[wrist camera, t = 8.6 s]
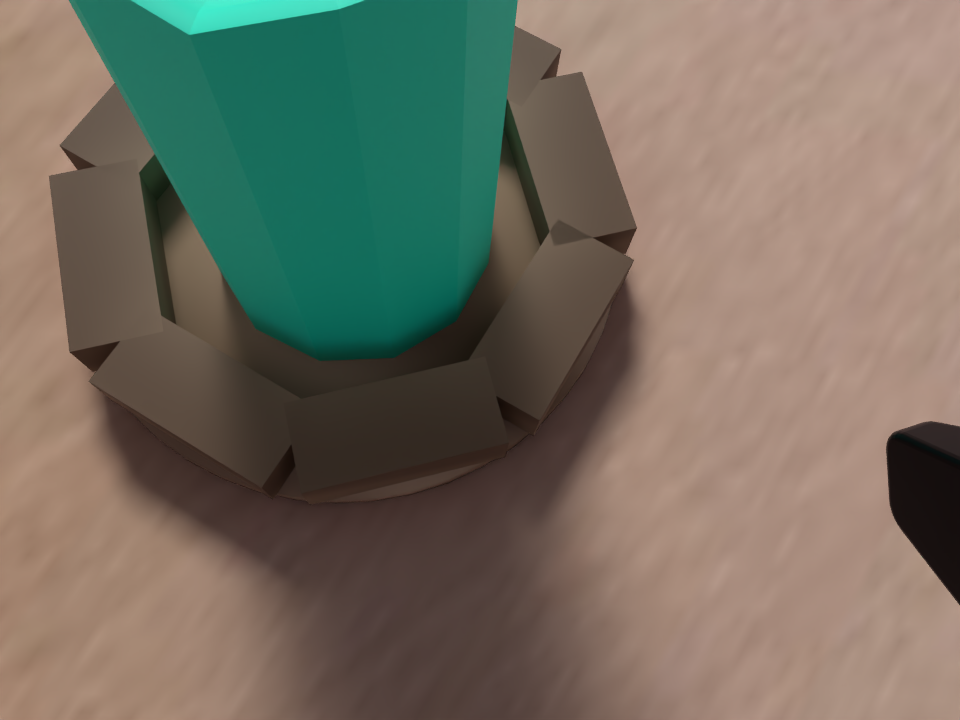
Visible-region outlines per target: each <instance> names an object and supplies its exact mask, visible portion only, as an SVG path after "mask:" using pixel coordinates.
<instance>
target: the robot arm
mask: <svg viewBox="0 0 960 720" xmlns="http://www.w3.org/2000/svg"><path fill="white" fill-rule="evenodd" d="M886 454H887V470H888V487H889V501H890V507H891V511H892V514H893V516H894V519H895V521H896V522H897V524H898V526H899V527H900V529H901V530H902V531H903V533H904V534H905V535H906V537H907V538H908V539H909V540H910V542H911V543H912V544H913V546H914V547H915V548H916V549H917V551H918V552H919V553H920V555H921V556H922V557H923V559H924V560H925V561H926V562H927V564H928V565H929V566H930V568H931V569H932V570H933V571H934V573H935V574H936V575H937V577H938V578H939V579H940V580H941V582H942V583H943V584H944V586H945V587H946V588H947V589H948V591H949V592H950V593H951V595H952V596H953V597H954V598H955V600H956V601H957V602H958V604H959V605H960V426H955V425H949V424H944V423H939V422H932V421H929V422H923V423H920V424H917V425H914V426H911V427H908V428H905V429H902V430H899V431H896V432H894V433H892V435H891V436H890V437H889V438H888V441H887V446H886Z"/></svg>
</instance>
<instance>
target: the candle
mask: <svg viewBox="0 0 960 720" xmlns="http://www.w3.org/2000/svg"><path fill="white" fill-rule="evenodd" d="M69 1H70V3H71V5H72V7H73V9H74V10H75V12H76V14H77V16H78V18H79V19H80V21H81V23H82V25H83V26H84V28H85V30H86V32H87V34H88V35H89V37H90V39H91V41H92V43H93V44H94V46H95V48H96V50H97V52H98V53H99V55H100V57H101V59H102V60H103V62H104V64H105V66H106V68H107V69H108V71H109V73H110V75H111V77H112V78H113V80H114V82H115V84H116V86H117V87H118V89H119V91H120V93H121V94H122V96H123V98H124V100H125V102H126V103H127V105H128V107H129V109H130V111H131V112H132V114H133V116H134V118H135V120H136V121H137V123H138V125H139V127H140V128H141V130H142V132H143V134H144V136H145V137H146V139H147V141H148V143H149V145H150V146H151V148H152V150H153V152H154V154H155V155H156V157H157V159H158V161H159V162H160V164H161V166H162V168H163V170H164V171H165V173H166V175H167V177H168V179H169V180H170V182H171V184H172V186H173V188H174V189H175V191H176V193H177V195H178V196H179V198H180V200H181V202H182V204H183V205H184V207H185V209H186V211H187V213H188V214H189V216H190V218H191V220H192V222H193V223H194V225H195V227H196V229H197V230H198V232H199V234H200V236H201V238H202V239H203V241H204V243H205V245H206V247H207V248H208V250H209V252H210V254H211V256H212V257H213V259H214V261H215V263H216V264H217V266H218V268H219V270H220V272H221V273H222V275H223V277H224V278H225V280H226V281H227V283H228V285H229V286H230V288H231V290H232V291H233V293H234V295H235V296H236V298H237V299H238V301H239V303H240V304H241V306H242V308H243V309H244V311H245V312H246V314H247V316H248V317H249V319H250V321H251V322H252V324H253V326H254V327H255V329H257V330H259V331H261V332H263V333H265V334H267V335H269V336H271V337H273V338H275V339H277V340H279V341H281V342H283V343H285V344H287V345H289V346H291V347H293V348H295V349H297V350H299V351H301V352H303V353H305V354H307V355H309V356H311V357H313V358H315V359H317V360H319V361H331V360H356V359H381V358H395V357H396V356H398V355H400V354H402V353H403V352H405V351H407V350H408V349H410V348H412V347H413V346H415V345H417V344H418V343H420V342H422V341H424V340H425V339H427V338H429V337H430V336H432V335H434V334H435V333H437V332H439V331H440V330H442V329H444V328H446V327H447V326H449V325H451V324H452V323H454V322H456V321H457V319H458V317H459V315H460V313H461V312H462V310H463V308H464V306H465V304H466V303H467V301H468V299H469V297H470V295H471V294H472V292H473V290H474V288H475V287H476V285H477V283H478V281H479V279H480V278H481V276H482V274H483V272H484V270H485V269H486V267H487V265H488V263H489V255H490V246H491V237H492V228H493V219H494V210H495V201H496V191H497V182H498V173H499V164H500V155H501V146H502V137H503V128H504V119H505V110H506V101H507V92H508V83H509V74H510V65H511V55H512V46H513V37H514V28H515V19H516V10H517V1H518V0H69Z"/></svg>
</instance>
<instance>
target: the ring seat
mask: <svg viewBox="0 0 960 720" xmlns="http://www.w3.org/2000/svg"><path fill="white" fill-rule="evenodd" d="M560 53H561V49H560V48H558V47H556V46H554V45H552V44H550V43H548V42H546V41H544V40H542V39H540V38H538V37H536V36H534V35H532V34H530V33H528V32H526V31H524V30H522V29H520V28H518V27H516V26H515V28H514V37H513V46H512V55H511V65H510V74H509V83H508V92H507V101H506V110H505V119H504V128H503V137H502V146H501V155H500V164H499V173H498V182H497V191H496V201H495V210H494V219H493V228H492V237H491V246H490V255H489V263H488V265H487V267H486V269H485V270H484V272H483V274H482V276H481V278H480V279H479V281H478V283H477V285H476V287H475V288H474V290H473V292H472V294H471V295H470V297H469V299H468V301H467V303H466V304H465V306H464V308H463V310H462V312H461V313H460V315H459V317H458V319H457V321H456V322H454V323H452V324H451V325H449V326H447V327H446V328H444V329H442V330H440V331H439V332H437V333H435V334H434V335H432V336H430V337H429V338H427V339H425V340H424V341H422V342H420V343H418V344H417V345H415V346H413V347H412V348H410V349H408V350H407V351H405V352H403V353H402V354H400V355H398V356H396V357H395V358H381V359H356V360H331V361H319V360H317V359H315V358H313V357H311V356H309V355H307V354H305V353H303V352H301V351H299V350H297V349H295V348H293V347H291V346H289V345H287V344H285V343H283V342H281V341H279V340H277V339H275V338H273V337H271V336H269V335H267V334H265V333H263V332H261V331H259V330H257V329H255V327H254V326H253V324H252V322H251V321H250V319H249V317H248V316H247V314H246V312H245V311H244V309H243V308H242V306H241V304H240V303H239V301H238V299H237V298H236V296H235V295H234V293H233V291H232V290H231V288H230V286H229V285H228V283H227V281H226V280H225V278H224V277H223V275H222V273H221V272H220V270H219V268H218V266H217V264H216V263H215V261H214V259H213V257H212V256H211V254H210V252H209V250H208V248H207V247H206V245H205V243H204V241H203V239H202V238H201V236H200V234H199V232H198V230H197V229H196V227H195V225H194V223H193V222H192V220H191V218H190V216H189V214H188V213H187V211H186V209H185V207H184V205H183V204H182V202H181V200H180V198H179V196H178V195H177V193H176V191H175V189H174V188H173V186H172V184H171V182H170V180H169V179H168V177H167V175H166V173H165V171H164V170H163V168H162V166H161V164H160V162H159V161H158V159H157V157H156V155H155V154H154V152H153V150H152V148H151V146H150V145H149V143H148V141H147V139H146V137H145V136H144V134H143V132H142V130H141V128H140V127H139V125H138V123H137V121H136V120H135V118H134V116H133V114H132V112H131V111H130V109H129V107H128V105H127V103H126V102H125V100H124V98H123V96H122V94H121V93H120V91H119V89H118V87H117V86H116V84H115V83H114V85H113V86H112V87H111V88H110V89H109V90H108V91H107V92H106V94H105V95H104V96H103V97H102V98H101V99H100V100H99V101H98V103H97V104H96V105H95V106H94V107H93V108H92V109H91V110H90V112H89V113H88V114H87V115H86V116H85V117H84V118H83V120H82V121H81V122H80V123H79V124H78V125H77V126H76V127H75V129H74V130H73V131H72V132H71V133H70V134H69V135H68V136H67V138H66V139H65V140H64V141H63V142H62V143H61V144H60V147H61V148H62V149H63V151H64V152H65V153H66V155H67V156H68V157H69V159H70V160H71V162H72V163H73V164H74V166H75V167H76V168H77V171H71V172H66V173H61V174H56V175H51V176H49V180H50V189H51V197H52V206H53V214H54V223H55V231H56V240H57V248H58V257H59V266H60V274H61V283H62V291H63V300H64V308H65V317H66V325H67V334H68V342H69V351H70V353H71V354H73V355H74V356H75V357H76V358H77V359H78V360H80V361H81V362H82V363H83V364H84V365H85V366H87V367H88V368H89V369H90V370H91V371H93V372H94V371H96V373H95V374H94V375H93V377H92V378H91V379H90V380H89V382H90V383H91V384H92V385H94V386H95V387H96V388H97V389H99V390H100V391H101V392H102V393H103V394H105V395H106V396H107V397H108V398H110V399H111V400H112V401H114V402H116V403H117V404H119V405H121V406H122V407H124V408H125V409H127V410H129V411H130V412H131V413H132V414H133V415H134V416H135V417H136V418H137V419H138V420H139V421H140V422H141V423H142V424H143V425H144V426H145V427H146V428H147V429H149V430H150V431H151V432H152V433H153V434H154V435H155V436H156V437H157V438H158V439H160V440H161V441H162V442H164V443H165V444H166V445H168V446H169V447H171V448H172V449H173V450H175V451H176V452H178V453H179V454H180V455H182V456H183V457H184V458H186V459H187V460H189V461H190V462H192V463H194V464H196V465H198V466H200V467H201V468H203V469H205V470H207V471H209V472H211V473H213V474H215V475H217V476H219V477H220V478H222V479H225V480H228V481H230V482H233V483H236V484H239V485H241V486H244V487H247V488H250V489H253V490H255V491H258V492H262V493H263V494H265V495H267V496H268V497H270V498H271V499H274V498H275V496H281V497H286V498H290V499H295V500H305V501H307V502H308V503H309V504H310V505H312V504H316V503H321V502H330V503H343V502H363V501H376V500H382V499H387V498H393V497H398V496H404V495H409V494H414V493H417V492H420V491H423V490H426V489H429V488H433V487H436V486H439V485H442V484H445V483H448V482H450V481H453V480H455V479H457V478H459V477H461V476H463V475H465V474H468V473H470V472H472V471H474V470H476V469H478V468H480V467H483V466H484V465H486V464H487V463H489V462H490V461H492V460H495V459H499V458H503V457H505V455H506V452H507V451H508V450H509V449H511V448H512V447H514V446H515V445H516V444H518V443H519V442H520V441H521V440H522V439H524V438H525V437H526V436H527V435H528V434H531V435H533V436H534V434H535V433H536V431H537V429H538V428H539V426H540V424H541V423H542V422H543V421H544V420H545V419H546V418H547V417H548V416H549V415H550V414H551V412H552V411H553V410H554V409H555V408H556V407H557V406H558V405H559V404H560V402H561V401H562V400H563V399H564V398H565V397H566V396H567V394H568V393H569V391H570V390H571V388H572V387H573V385H574V384H575V382H576V381H577V379H578V378H579V376H580V375H581V373H582V372H583V371H584V369H585V367H586V365H587V363H588V361H589V359H590V357H591V355H592V353H593V351H594V349H595V347H596V345H597V343H598V341H599V339H600V337H601V335H602V332H603V330H604V327H605V324H606V321H607V318H608V314H609V311H610V308H611V305H612V302H613V300H614V298H615V296H616V295H617V293H618V291H619V290H620V288H621V286H622V284H623V282H624V280H625V278H626V276H627V274H628V272H629V269H630V267H631V265H632V263H633V261H634V260H633V259H631V258H630V257H628V256H626V255H624V254H626V252H627V249H628V247H629V245H630V243H631V240H632V238H633V236H634V233H635V231H636V229H637V227H636V224H635V221H634V219H633V216H632V213H631V210H630V207H629V204H628V201H627V199H626V196H625V193H624V190H623V187H622V184H621V181H620V179H619V176H618V173H617V170H616V167H615V164H614V162H613V159H612V156H611V153H610V150H609V147H608V144H607V142H606V139H605V136H604V133H603V130H602V127H601V124H600V122H599V119H598V116H597V113H596V110H595V107H594V105H593V102H592V99H591V96H590V93H589V90H588V87H587V85H586V82H585V79H584V76H583V73H582V72H579V73H573V74H568V75H563V76H558V77H556V74H557V69H558V64H559V58H560Z"/></svg>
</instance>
